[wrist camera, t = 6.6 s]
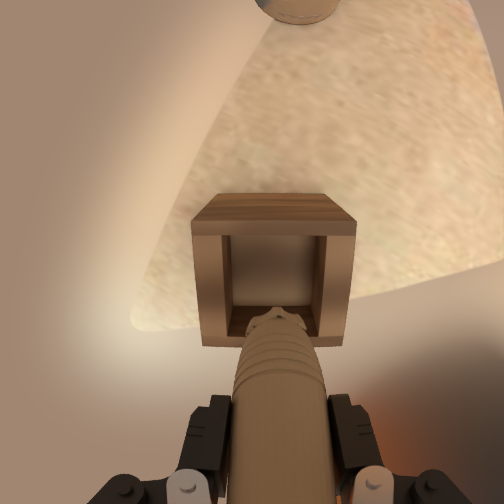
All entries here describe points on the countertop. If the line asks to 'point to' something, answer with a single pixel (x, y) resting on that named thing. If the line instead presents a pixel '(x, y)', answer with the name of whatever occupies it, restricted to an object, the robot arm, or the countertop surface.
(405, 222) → the countertop surface
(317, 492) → the handle
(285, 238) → the wooden box
